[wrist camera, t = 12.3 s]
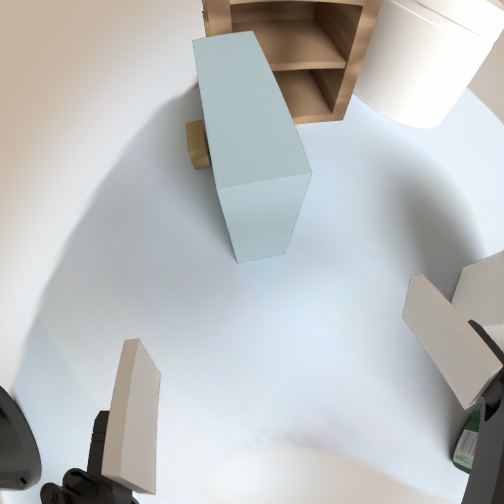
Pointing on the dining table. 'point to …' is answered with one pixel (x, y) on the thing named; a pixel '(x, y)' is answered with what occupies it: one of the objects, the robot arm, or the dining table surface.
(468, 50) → the canister
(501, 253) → the milk carton
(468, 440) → the coffee jar
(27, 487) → the robot arm
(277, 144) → the door
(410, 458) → the dining table surface
